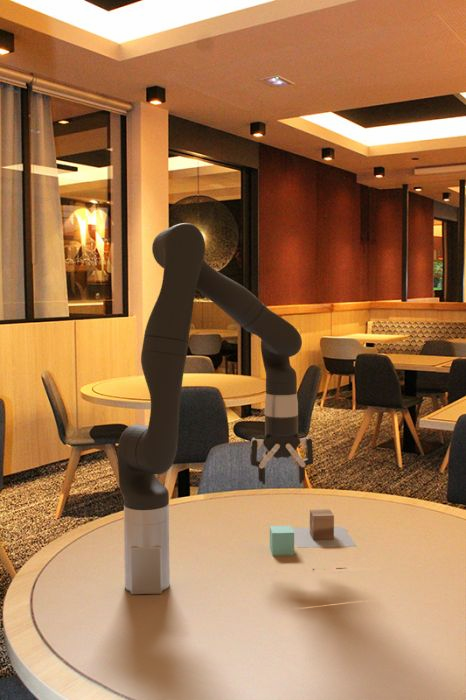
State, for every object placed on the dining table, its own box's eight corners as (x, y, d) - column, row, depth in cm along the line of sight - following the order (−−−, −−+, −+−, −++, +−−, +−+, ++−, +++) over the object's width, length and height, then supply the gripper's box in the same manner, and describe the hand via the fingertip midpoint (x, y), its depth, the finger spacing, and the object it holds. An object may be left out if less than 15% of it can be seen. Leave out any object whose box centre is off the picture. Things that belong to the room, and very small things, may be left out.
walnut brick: (333, 539, 171) (334, 515, 171) (313, 540, 171) (313, 515, 170) (329, 532, 176) (329, 509, 176) (309, 533, 176) (309, 509, 175)
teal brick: (294, 558, 162) (294, 532, 161) (272, 559, 161) (272, 533, 161) (290, 550, 167) (291, 525, 166) (269, 551, 166) (269, 526, 166)
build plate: (356, 549, 167) (356, 545, 167) (297, 550, 166) (297, 547, 166) (343, 529, 181) (343, 526, 181) (288, 531, 180) (288, 528, 180)
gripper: (251, 416, 157) (252, 488, 159) (315, 415, 158) (315, 486, 160) (248, 410, 165) (249, 479, 166) (309, 409, 166) (309, 477, 167)
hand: (281, 483), depth 163 cm, fingers open, 8 cm apart
